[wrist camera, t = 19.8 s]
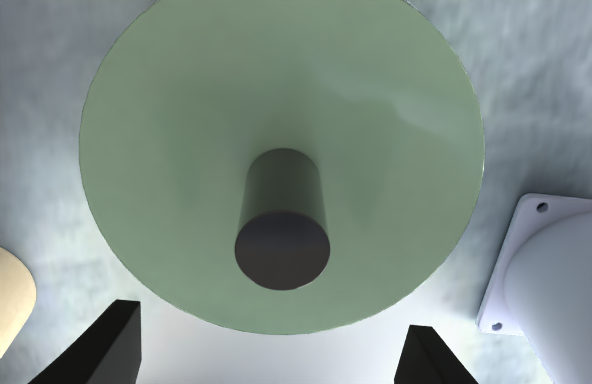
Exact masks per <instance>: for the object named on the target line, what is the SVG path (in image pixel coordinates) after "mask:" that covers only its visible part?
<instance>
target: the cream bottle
mask: <svg viewBox="0 0 592 384" xmlns="http://www.w3.org/2000/svg"><path fill="white" fill-rule="evenodd" d="M35 301H36V286H35V283H34V280H33V278H32V276H31V274H30V272H29V271H28V269H27V268H26V267H25V265H24V264H23V263H22V262H21V261H20V260H19V259H18V258H16V257H15V256H14V255H13V254H11V253H10V252H8V251H7V250H5V249H3V248H1V247H0V358H1V357H2V355H3V354H4V352H5V351H6V349H7V348H8V347H9V345H10V344H11V342H12V341H13V339H14V338H15V336H16V335H17V333H18V332H19V330H20V329H21V327H22V326H23V324H24V323H25V321H26V320H27V318H28V317H29V315H30V314H31V312H32V309H33V307H34V305H35Z"/></svg>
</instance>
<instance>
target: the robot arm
mask: <svg viewBox="0 0 592 384" xmlns="http://www.w3.org/2000/svg"><path fill="white" fill-rule="evenodd" d="M544 202H545V204H544V205H543V207H541V208H537V206H538V205H539V204H540V203H544ZM497 322H498V323H497ZM475 323H476V326H477V328H478V330H480V331H481V332H486V333H498V334H510V335H522V336H525V337H526V339H527V340H528V342H529V344H530V345H531V347H532V349H533V350H534V352H535V354H536V355H537V357H538V359H539V360H540V362H541V364H542V365H543V367H544V369H545V370H546V372H547V374H548V375H549V377H550V379H551V380H552V382H553V384H592V199H584V198H575V197H565V196H555V195H545V194H536V193H528V194H526V195H524V196H522V197H521V198H520V200H519V202H518V204H517V207H516V210H515V212H514V215H513V218H512V221H511V224H510V226H509V229H508V232H507V235H506V237H505V240H504V243H503V246H502V249H501V251H500V254H499V257H498V260H497V262H496V265H495V268H494V271H493V274H492V276H491V279H490V282H489V285H488V287H487V290H486V293H485V296H484V299H483V301H482V304H481V307H480V310H479V312H478V315H477V318H476V322H475ZM494 323H497V324H496V325H493V324H494ZM141 360H142V356H141V306H140V301H129V300H118V299H117V300H115V301H114V302H113V303H112V304H111V305H110V306H109V307H108V308H107V309H106V310H105V311H104V312H103V313H102V314H101V315H100V316H99V317H98V319H97V320H96V321H95V322H94V323H93V324H92V325H91V326H90V327H89V328H88V329H87V330H86V331H85V332H84V333H83V334H82V335H81V336H80V337H79V338H78V339H77V340H76V341H75V342H74V343H72V344H71V345H70V346H69V347H68V348H67V349H66V350H65V351H64V352H63V353H62V354H61V355H60V356H59V357H58V358H57V359H56V360H54V361H53V362H52V363H51V364H50V365H49V366H47V367H46V368H45V369H44V370H43V371H42V372H41V373H39V374H38V375H37V376H36V377H35V378H34V379H32V380H31V381H30V382H29V383H28V384H135V383H136V379H137V375H138V371H139V368H140V364H141ZM394 384H478V382H477V381H476V380H475V379H474V378H473V376H472V375H471V374H470V373H469V372H468V371H467V369H466V368H465V367H464V366H463V365H462V363H461V362H460V361H459V360H458V358H457V357H456V356H455V355H454V353H453V352H452V351H451V350H450V348H449V347H448V346H447V345H446V343H445V342H444V341H443V340H442V338H441V337H440V336H439V335H438V334H437V332H436V331H435V330H434V329H433V327H430V326H419V325H410V326H409V329H408V333H407V336H406V340H405V343H404V347H403V350H402V353H401V357H400V360H399V364H398V367H397V371H396V374H395V378H394Z"/></svg>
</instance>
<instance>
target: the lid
mask: <svg viewBox="0 0 592 384" xmlns="http://www.w3.org/2000/svg"><path fill="white" fill-rule="evenodd" d="M484 159H485V143H484V127H483V122H482V117H481V112H480V107H479V103H478V100H477V97H476V94H475V92H474V89H473V86H472V83H471V80H470V78H469V76H468V74H467V73H466V71H465V69H464V67H463V65H462V63H461V61H460V59H459V57H458V56H457V54H456V53H455V52H454V50H453V49H452V48H451V46H450V45H449V44H448V42H447V41H446V40H445V38H444V37H443V35H442V34H441V33H440V32H439V31H438V30H437V29H436V28H435V27H434V26H433V25H432V24H431V23H430V22H429V21H428V20H427V19H426V18H425V17H424V16H423V15H422V14H421V13H420V12H418V11H417V10H416V9H414V8H413V7H412V6H410V5H409V4H408V3H406V2H405V1H403V0H158V1H157V2H156V3H154V4H153V5H152V6H151V7H149V8H148V9H147V10H146V11H144V12H143V13H142V14H141V15H139V16H138V17H137V18H136V19H135V20H134V21H133V22H132V23H131V24H130V25H129V26H128V28H127V29H126V30H125V31H124V32H123V33H122V34H121V35H120V36H119V37H118V38H117V40H116V41H115V43H114V44H113V46H112V47H111V49H110V50H109V51H108V53H107V54H106V56H105V57H104V59H103V60H102V62H101V64H100V66H99V68H98V70H97V72H96V75H95V77H94V79H93V81H92V83H91V85H90V88H89V91H88V95H87V98H86V101H85V105H84V108H83V111H82V118H81V125H80V132H79V164H80V171H81V177H82V184H83V188H84V191H85V195H86V198H87V201H88V205H89V208H90V211H91V213H92V215H93V217H94V219H95V222H96V224H97V226H98V228H99V230H100V232H101V234H102V235H103V237H104V238H105V240H106V242H107V243H108V245H109V247H110V248H111V250H112V251H113V252H114V254H115V255H116V256H117V257H118V259H119V260H120V261H121V262H122V263H123V265H124V266H125V267H126V268H127V269H128V270H129V271H130V272H131V273H132V274H133V275H134V276H135V277H136V278H137V279H138V280H139V281H140V282H141V283H142V284H143V285H145V286H146V287H147V288H148V289H150V290H151V291H152V292H154V293H155V294H156V295H158V296H159V297H160V298H162V299H163V300H165V301H167V302H168V303H170V304H172V305H173V306H175V307H176V308H178V309H180V310H182V311H184V312H186V313H188V314H190V315H193V316H195V317H197V318H199V319H201V320H204V321H207V322H210V323H213V324H216V325H219V326H222V327H226V328H230V329H235V330H239V331H243V332H251V333H258V334H269V335H295V334H309V333H315V332H321V331H327V330H332V329H336V328H339V327H343V326H346V325H350V324H353V323H356V322H358V321H361V320H363V319H366V318H368V317H371V316H373V315H375V314H377V313H379V312H381V311H383V310H385V309H387V308H389V307H391V306H393V305H394V304H396V303H397V302H399V301H400V300H402V299H403V298H405V297H406V296H408V295H409V294H411V293H412V292H413V291H414V290H415V289H417V288H418V287H419V286H420V285H421V284H423V283H424V282H425V281H426V280H427V279H428V278H429V277H430V276H431V275H432V274H433V273H434V272H435V271H436V270H437V269H438V268H439V267H440V266H441V265H442V263H443V262H444V261H445V260H446V258H447V257H448V256H449V254H450V253H451V252H452V250H453V249H454V247H455V246H456V245H457V243H458V241H459V240H460V238H461V236H462V234H463V232H464V231H465V229H466V227H467V225H468V223H469V221H470V218H471V216H472V213H473V211H474V208H475V205H476V203H477V199H478V195H479V191H480V187H481V183H482V179H483V169H484Z"/></svg>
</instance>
